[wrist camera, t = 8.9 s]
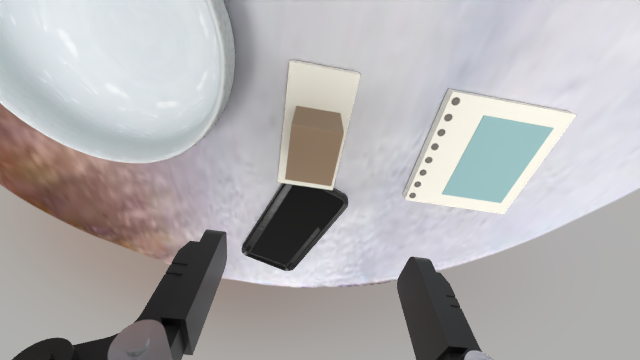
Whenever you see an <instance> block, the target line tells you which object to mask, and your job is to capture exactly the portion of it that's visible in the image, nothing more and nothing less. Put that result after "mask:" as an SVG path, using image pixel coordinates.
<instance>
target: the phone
mask: <svg viewBox="0 0 640 360" xmlns="http://www.w3.org/2000/svg"><path fill="white" fill-rule="evenodd" d="M339 192H340V191H338V190H337V189H335V188H333V190H327V189H320V188H313V187H307V186H300V185H293V184H286V183H282V185H281V186H280V188H279V189H278V191H277V192H276V194H275V195H274V197H273V199H272V200H271V202H270V203H269V205H268V206H267V208H266V209H265V211H264V213H263V214H262V216H261V217H260V219H259V220H258V222H257V223H256V225H255V227H254V228H253V230H252V231H251V233H250V234H249V236H248V237H247V239H246V241H245V242H244V244H243V247H242V253H243V254H244V255H246V256H248V257H251V258H253V259H256V260H259V261H261V262H264V263H266V264H269V265H271V266H274V267H277V268H279V269H282V270H285V271H290V270H293V269H294V268H295V267H296V266H297V265H298V264H299V262H300V261H301V260H302V259H303V258H304V257H305V256H306V254H307V253H308V252H309V251H310V250H311V249H312V247H313V246H314V245H315V244H316V243H317V242H318V240H319V239H320V238H321V237H322V236H323V235H324V234H325V232H326V231H327V230H328V229H329V228H330V227H331V225H332V224H333V223H334V222H335V221H336V220H337V218H338V217H339V216H340V215H341V214H342V213H343V212H344V210H345V209H346V208H347V206H348V198H347V196H346V195H345V194H344V193H342V192H340V193H339Z"/></svg>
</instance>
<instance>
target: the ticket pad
mask: <svg viewBox="0 0 640 360" xmlns="http://www.w3.org/2000/svg"><path fill="white" fill-rule="evenodd" d="M575 117H576V114H574V113H571V112H569V111H564V110H559V109H554V108H548V107H543V106H538V105H532V104H527V103H522V102H516V101H511V100H506V99H500V98H495V97H490V96H484V95H479V94H474V93H469V92H463V91H458V90H453V89H448V90H447V93H446V95H445V97H444V100H443V102H442V104H441V107H440V109H439V111H438V113H437V116H436V118H435V120H434V123H433V125H432V127H431V130H430V132H429V134H428V137H427V139H426V141H425V144H424V146H423V148H422V151H421V153H420V155H419V158H418V160H417V162H416V165H415V167H414V169H413V171H412V174H411V176H410V178H409V181H408V183H407V185H406V188H405V190H404V192H403V197H404V199H405V200H410V201H417V202H424V203H430V204H437V205H444V206H451V207H458V208H465V209H472V210H478V211H485V212H492V213H499V214H504V213H505V212H506V210H507V209H508V208H509V206H510V205H511V204H512V202H513V201H514V200H515V198H516V197H517V196H518V194H519V193H520V191H521V190H522V189H523V187H524V186H525V185H526V183H527V182H528V181H529V179H530V178H531V176H532V175H533V174H534V172H535V171H536V170H537V168H538V167H539V166H540V164H541V163H542V162H543V160H544V159H545V157H546V156H547V155H548V153H549V152H550V151H551V149H552V148H553V147H554V145H555V144H556V142H557V141H558V140H559V138H560V137H561V136H562V134H563V133H564V132H565V130H566V129H567V127H568V126H569V125H570V123H571V122H572V121H573V119H574V118H575Z"/></svg>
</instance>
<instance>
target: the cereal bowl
mask: <svg viewBox="0 0 640 360" xmlns="http://www.w3.org/2000/svg"><path fill="white" fill-rule="evenodd" d="M232 31H233V30H232V28H231V22H230V19H229V16H228V12H227V10H226V7H225V3H224V1H223V0H0V103H1V104H2V105H3V106H4V107H6V108H7V109H8V110H9V111H11V112H12V113H13V114H15V115H16V116H17V117H19V118H20V119H21V120H23V121H24V122H25V123H27V124H28V125H30V126H31V127H33V128H35V129H36V130H38V131H40V132H41V133H43V134H44V135H46V136H48V137H50V138H52V139H53V140H55V141H57V142H59V143H61V144H63V145H65V146H67V147H70V148H72V149H75V150H77V151H80V152H82V153H85V154H88V155H91V156H94V157H98V158H102V159H106V160H111V161H117V162H124V163H150V162H157V161H162V160H166V159H169V158H172V157H175V156H177V155H179V154H182V153H184V152H186V151H187V150H189V149H190V148H192V147H193V146H195V145H196V144H197V143H198V142H199V141H200V140H201V139H203V138H204V137H205V135H206V134H207V133H208V132H209V131H210V130H211V129H212V128H213V126H214V125H215V124H216V122H217V120H218V119H219V117H220V116H221V114H222V113H223V111H224V109H225V106H226V104H227V102H228V99H229V96H230V92H231V89H232V84H233V79H234V70H235V51H234V50H235V46H234V38H233V35H232Z"/></svg>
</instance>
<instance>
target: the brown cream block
mask: <svg viewBox="0 0 640 360" xmlns="http://www.w3.org/2000/svg"><path fill="white" fill-rule="evenodd" d="M360 77H361V74H360V72H355V71H350V70H344V69H339V68H334V67H328V66H323V65H318V64H312V63H307V62H302V61H296V60H290V61H289V71H288V81H287V91H286V101H285V112H284V122H283V132H282V142H281V152H280V162H279V172H278V182H279V183H286V184H293V185H300V186H307V187H313V188H320V189H327V190H333V187H334V183H335V179H336V175H337V171H338V167H339V163H340V159H341V155H342V150H343V146H344V142H345V138H346V134H347V130H348V126H349V122H350V118H351V114H352V110H353V106H354V102H355V97H356V93H357V89H358V85H359V81H360Z"/></svg>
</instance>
